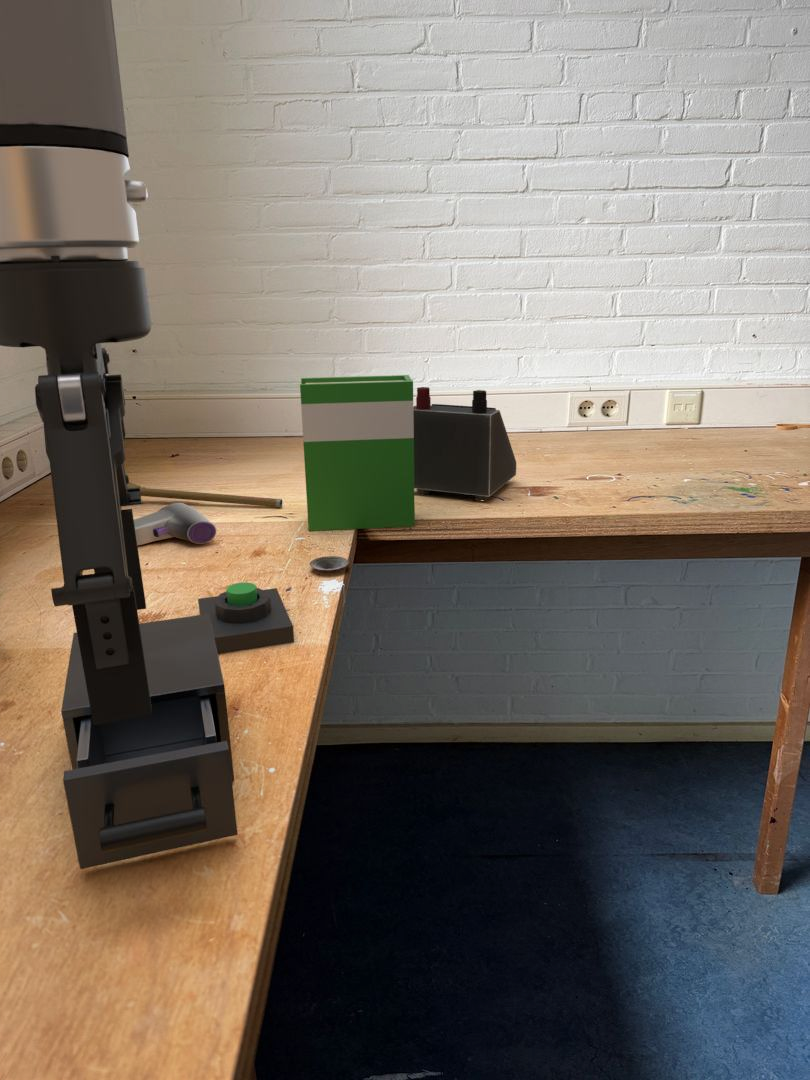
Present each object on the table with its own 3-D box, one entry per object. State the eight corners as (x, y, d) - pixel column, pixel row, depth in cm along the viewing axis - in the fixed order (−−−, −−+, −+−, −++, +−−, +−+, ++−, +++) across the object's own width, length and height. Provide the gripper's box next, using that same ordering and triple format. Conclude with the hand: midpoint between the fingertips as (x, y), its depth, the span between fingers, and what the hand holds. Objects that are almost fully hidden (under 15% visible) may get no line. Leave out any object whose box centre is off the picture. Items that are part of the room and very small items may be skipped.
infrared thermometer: (101, 551, 127) (187, 524, 136) (131, 572, 118) (222, 542, 127) (95, 524, 125) (183, 499, 134) (125, 543, 116) (217, 515, 125)
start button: (225, 597, 98) (224, 584, 97) (255, 593, 99) (254, 580, 98) (229, 609, 94) (227, 595, 94) (259, 604, 96) (258, 591, 95)
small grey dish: (321, 580, 112) (320, 572, 111) (304, 568, 116) (303, 561, 116) (355, 572, 114) (355, 564, 114) (337, 560, 119) (337, 553, 118)
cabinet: (234, 780, 69) (224, 683, 66) (79, 812, 66) (60, 710, 62) (218, 697, 82) (209, 613, 79) (88, 720, 79) (73, 632, 76)
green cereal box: (308, 531, 132) (300, 384, 124) (309, 517, 139) (301, 378, 131) (414, 526, 133) (413, 381, 125) (410, 512, 140) (408, 374, 132)
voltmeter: (516, 481, 158) (519, 379, 151) (489, 504, 144) (491, 393, 138) (441, 473, 165) (441, 376, 158) (408, 494, 151) (406, 388, 144)
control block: (199, 614, 102) (196, 585, 100) (277, 603, 105) (275, 575, 103) (207, 656, 91) (204, 624, 90) (294, 642, 94) (292, 611, 92)
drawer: (244, 873, 58) (235, 783, 55) (76, 913, 54) (57, 819, 52) (220, 740, 74) (212, 665, 71) (89, 764, 70) (75, 687, 68)
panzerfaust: (277, 492, 141) (285, 488, 146) (93, 478, 146) (106, 473, 151) (276, 518, 143) (285, 513, 147) (94, 503, 148) (108, 498, 152)
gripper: (148, 248, 28) (212, 764, 35) (139, 258, 50) (179, 571, 57) (-94, 253, 26) (26, 802, 33) (9, 261, 48) (67, 586, 55)
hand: (123, 656), depth 45 cm, fingers open, 13 cm apart
